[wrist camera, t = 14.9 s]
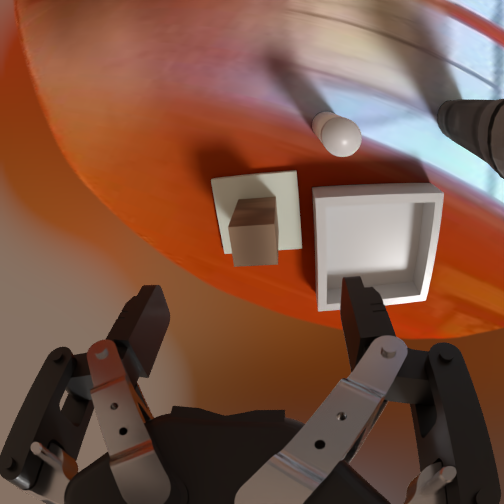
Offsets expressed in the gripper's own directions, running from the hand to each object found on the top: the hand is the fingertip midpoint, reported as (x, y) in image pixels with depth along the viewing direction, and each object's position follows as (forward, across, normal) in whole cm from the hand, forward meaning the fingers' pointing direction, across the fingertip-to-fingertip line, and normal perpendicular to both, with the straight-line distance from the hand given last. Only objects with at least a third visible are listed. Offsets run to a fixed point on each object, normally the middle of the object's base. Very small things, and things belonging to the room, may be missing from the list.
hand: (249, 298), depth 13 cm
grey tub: (+21, -12, +9) cm, 26 cm away
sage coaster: (+21, +1, +5) cm, 22 cm away
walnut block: (+20, +1, +5) cm, 21 cm away
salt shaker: (+21, -6, -4) cm, 22 cm away
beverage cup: (+21, -22, -5) cm, 31 cm away
